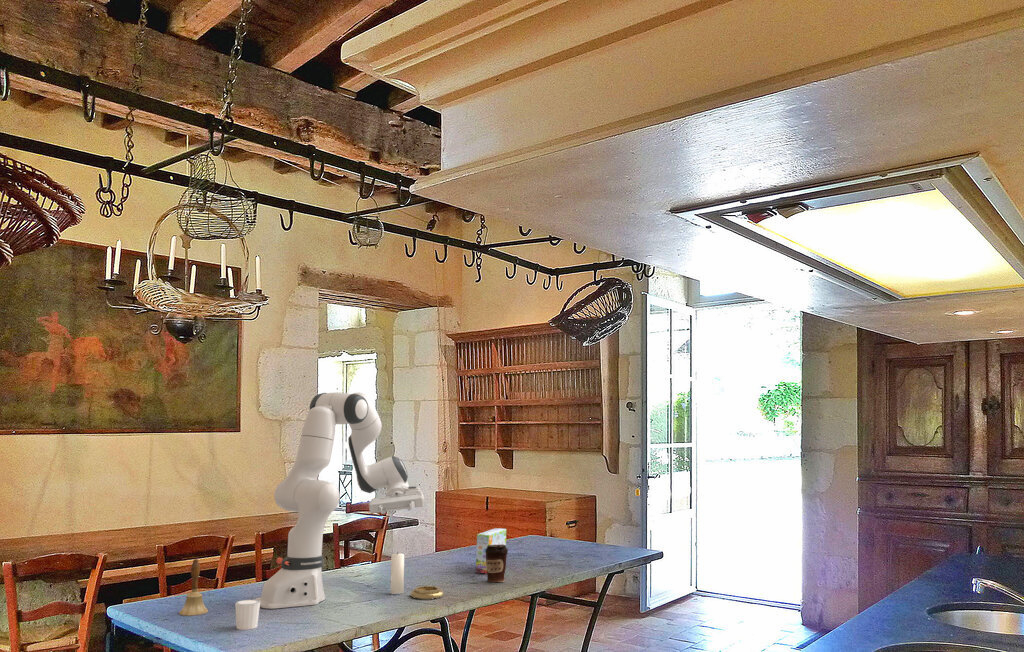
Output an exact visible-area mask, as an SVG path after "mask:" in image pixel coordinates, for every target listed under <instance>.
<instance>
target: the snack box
mask: <svg viewBox="0 0 1024 652" xmlns="http://www.w3.org/2000/svg"><path fill="white" fill-rule="evenodd" d="M487 545H506V546H507V528H497V527H495V528H492V529H489V530H486V531H483V532H480V533H477V534H476V554H475V555H476V557H475V558H476V559H475V561H476V562H475V573H476V574H480V573H485V574H484V575H487V567H486V552H485V550H486V548H487Z"/></svg>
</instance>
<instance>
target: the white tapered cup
mask: <svg viewBox="0 0 1024 652" xmlns="http://www.w3.org/2000/svg"><path fill="white" fill-rule="evenodd" d="M234 605H235V607H234V608H235V625H236V627H235V628H236V630H241V631H244V630H245V631H246V630H253V629H256V628H257V627H258V623H259V616H260V615H259V614H260V608H261V607H260V601H259V600H255V599H243V600H242V599H241V600H237V601H236V602H235V604H234Z"/></svg>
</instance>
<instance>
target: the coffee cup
mask: <svg viewBox="0 0 1024 652" xmlns="http://www.w3.org/2000/svg"><path fill="white" fill-rule="evenodd" d="M485 552H486V567H487V574H486V575H487V578H486V579H487V582H491V583H503V582H504V583H505V582H506V579H505V573H506V569H507V556H508V552H509V549H508V548H507V544H506V545H487V548H486V550H485Z"/></svg>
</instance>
